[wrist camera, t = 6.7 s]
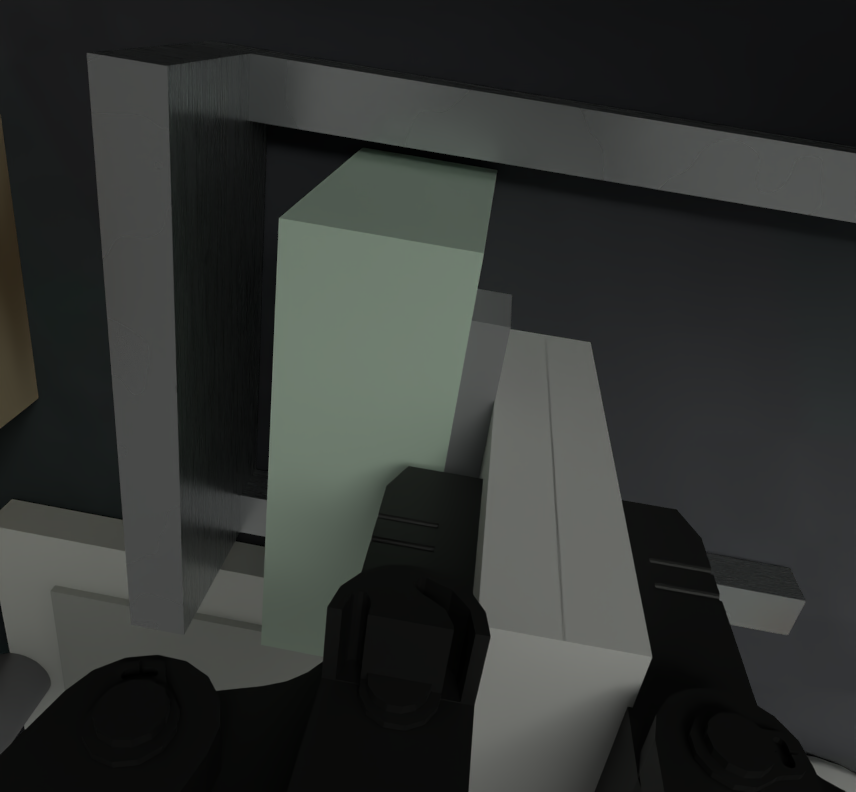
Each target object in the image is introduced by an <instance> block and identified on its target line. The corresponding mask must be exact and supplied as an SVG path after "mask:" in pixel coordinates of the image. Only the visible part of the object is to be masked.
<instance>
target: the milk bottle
mask: <svg viewBox="0 0 856 792" xmlns="http://www.w3.org/2000/svg"><path fill="white" fill-rule="evenodd" d="M807 757H808V758H809V760H810V762H811V764H812V765H813V767H814V769H815V771H816V774H817V775H818V776H820V777H821V778H822V779H824V780H826V781H828V782H830V783H831V784H833V785H835V786H837V787H839V788H840V789H842V790H844V791H846V792H856V773H854V772H852V771H850V770H848V769H846V768H845V767H843V766H841V765H838V764H835V763H831V762H828V761H826V760H823V759H820V758H817V757H813V756H807Z"/></svg>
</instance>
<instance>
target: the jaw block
mask: <svg viewBox="0 0 856 792" xmlns="http://www.w3.org/2000/svg"><path fill="white" fill-rule="evenodd" d="M38 398H39V397H38V389H37V382H36V375H35V367H34V360H33V352H32V345H31V337H30V330H29V323H28V315H27V308H26V300H25V293H24V285H23V278H22V271H21V263H20V256H19V248H18V241H17V233H16V226H15V219H14V211H13V204H12V196H11V189H10V181H9V174H8V167H7V159H6V152H5V144H4V137H3V129H2V122H1V115H0V428H2V427H3V426H4V425H5V424H7V423H8V422H9V421H11V420H12V419H13V418H14V417H16V416H17V415H18V414H19V413H21V412H22V411H23V410H24V409H26V408H27V407H28V406H29V405H31V404H32V403H33V402H34V401H36V400H37V399H38Z"/></svg>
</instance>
